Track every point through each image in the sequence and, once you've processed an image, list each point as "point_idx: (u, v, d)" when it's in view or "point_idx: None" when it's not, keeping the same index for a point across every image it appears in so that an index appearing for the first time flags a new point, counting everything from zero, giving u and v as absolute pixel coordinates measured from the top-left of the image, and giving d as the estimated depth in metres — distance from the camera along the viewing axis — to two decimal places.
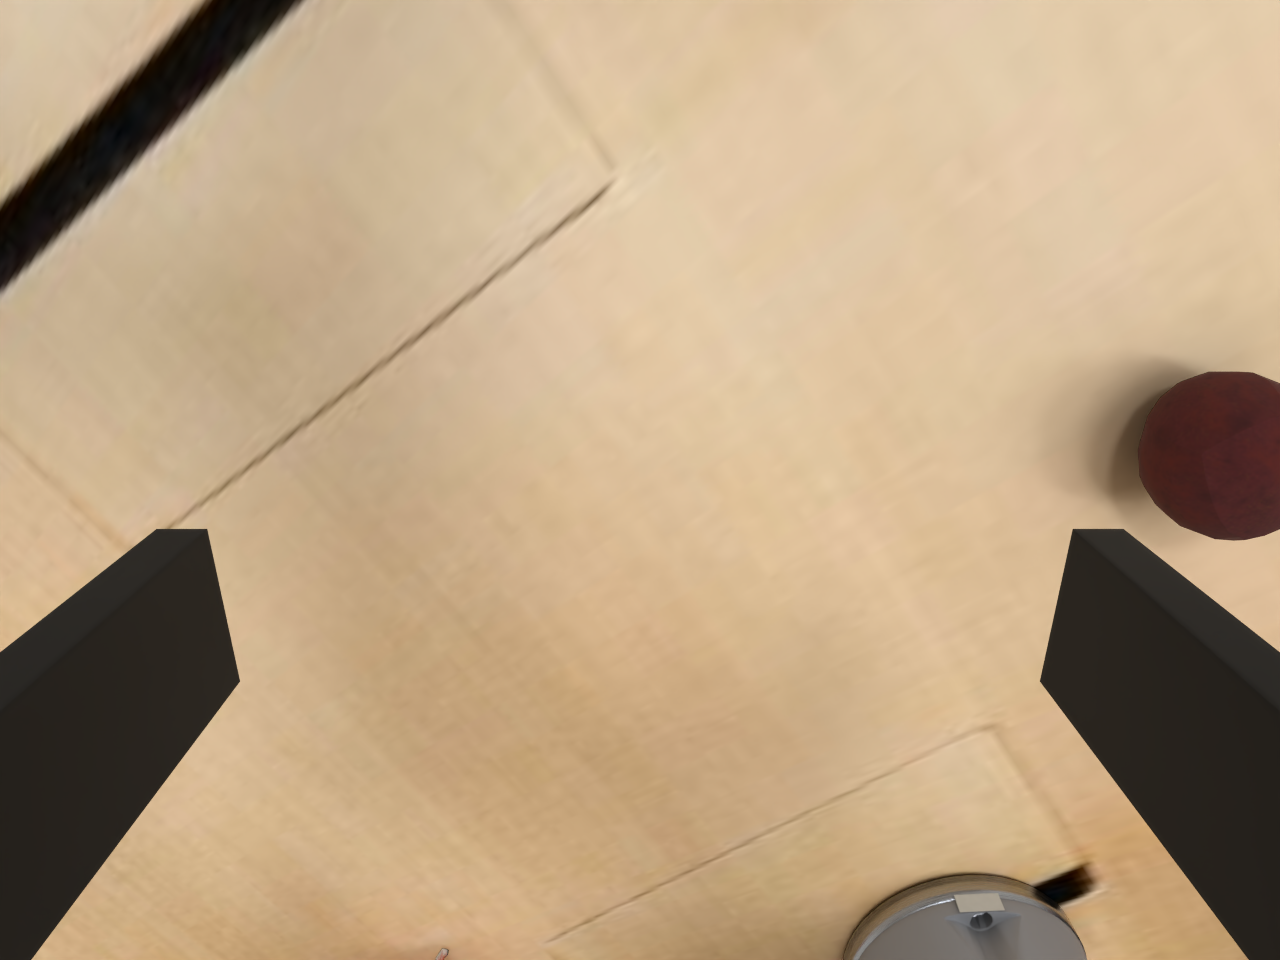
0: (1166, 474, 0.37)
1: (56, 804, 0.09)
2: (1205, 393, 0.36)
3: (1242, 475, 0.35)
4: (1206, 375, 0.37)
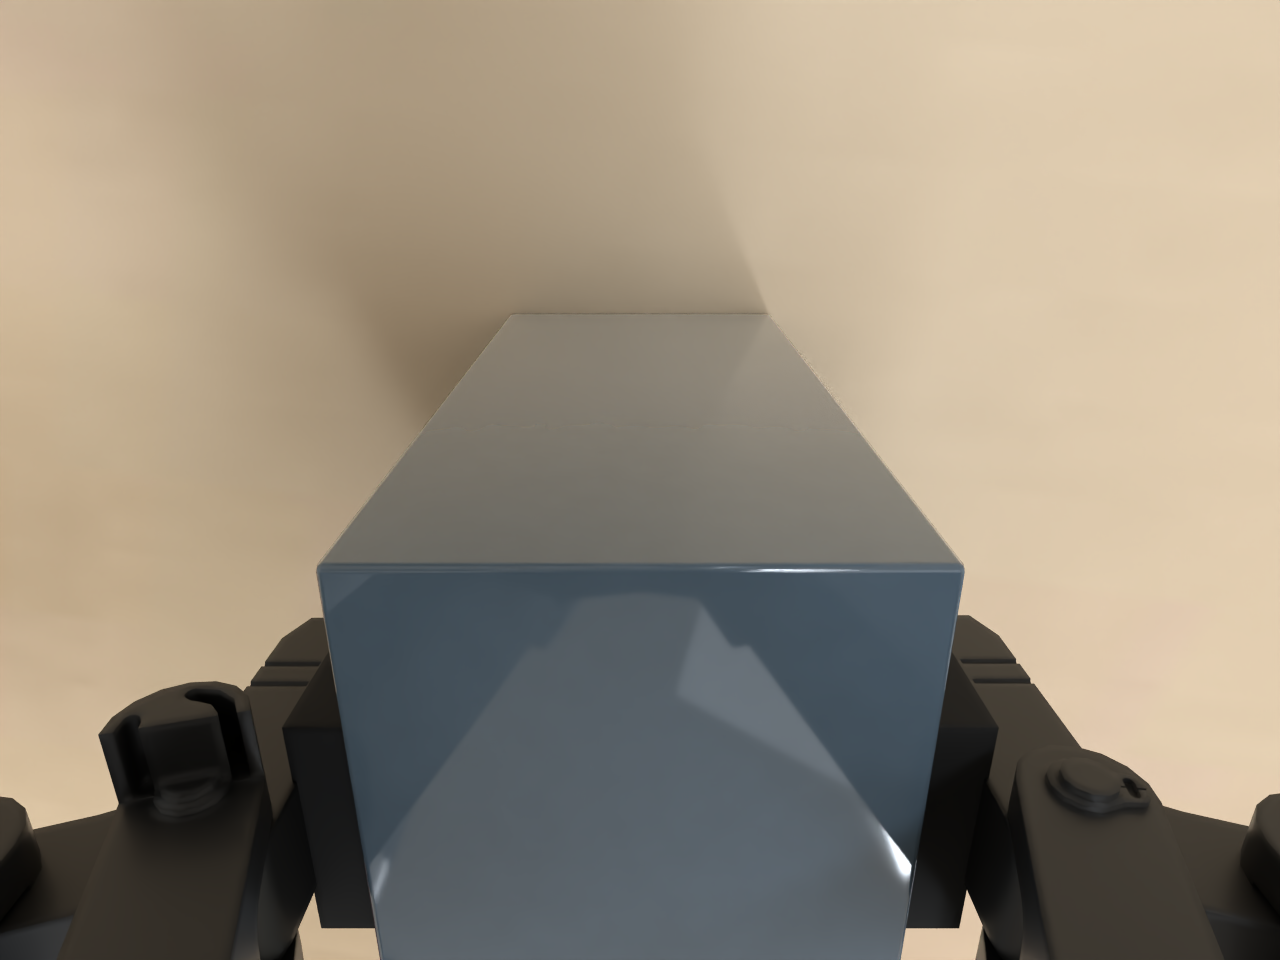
0: None
1: None
2: None
3: None
4: None
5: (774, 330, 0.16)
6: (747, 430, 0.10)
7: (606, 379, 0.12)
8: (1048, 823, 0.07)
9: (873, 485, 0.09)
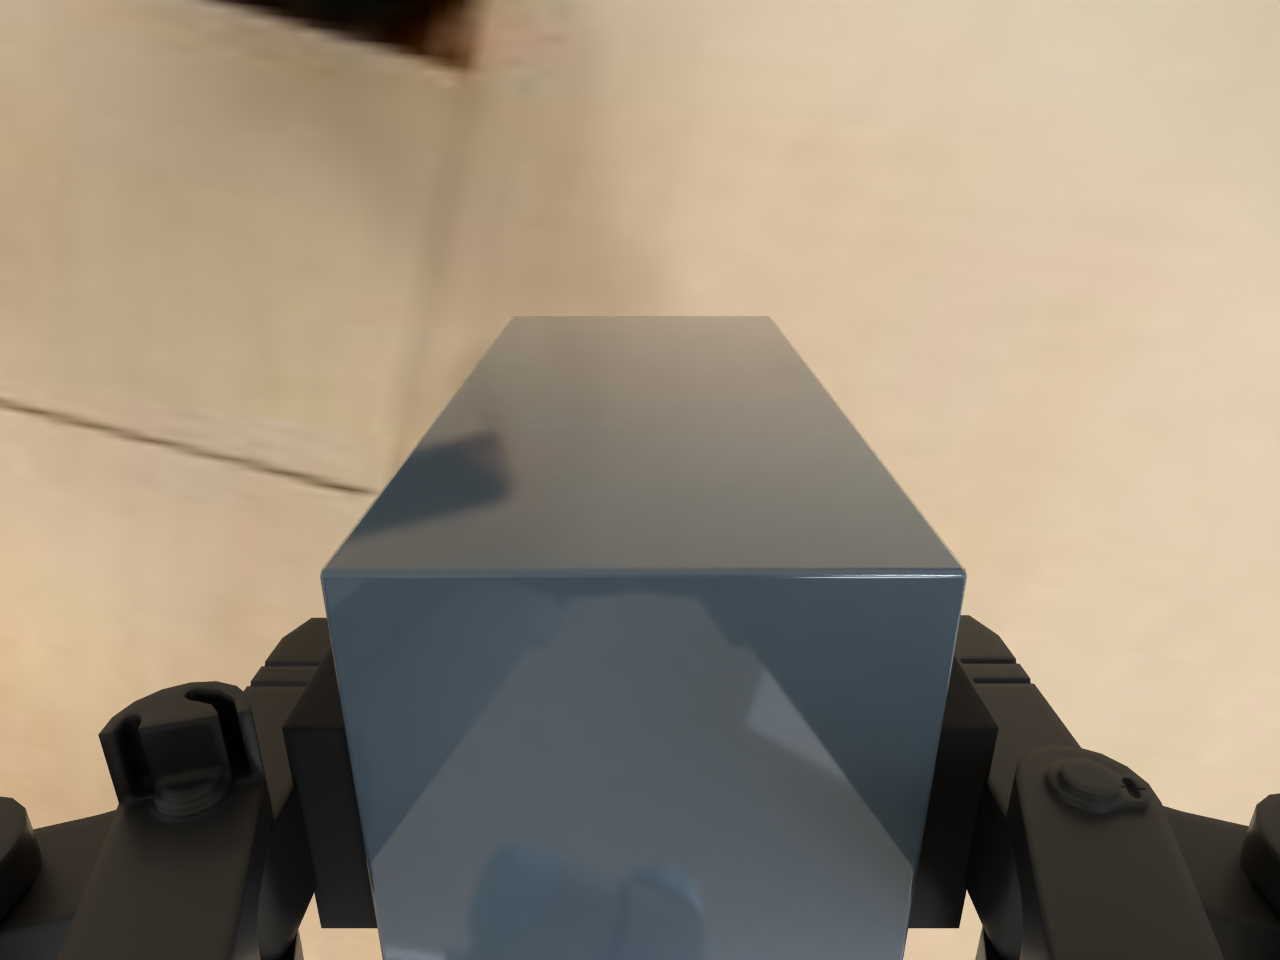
0: None
1: None
2: None
3: None
4: None
5: (775, 333, 0.16)
6: (748, 434, 0.10)
7: (608, 382, 0.12)
8: (1048, 822, 0.07)
9: (875, 489, 0.09)
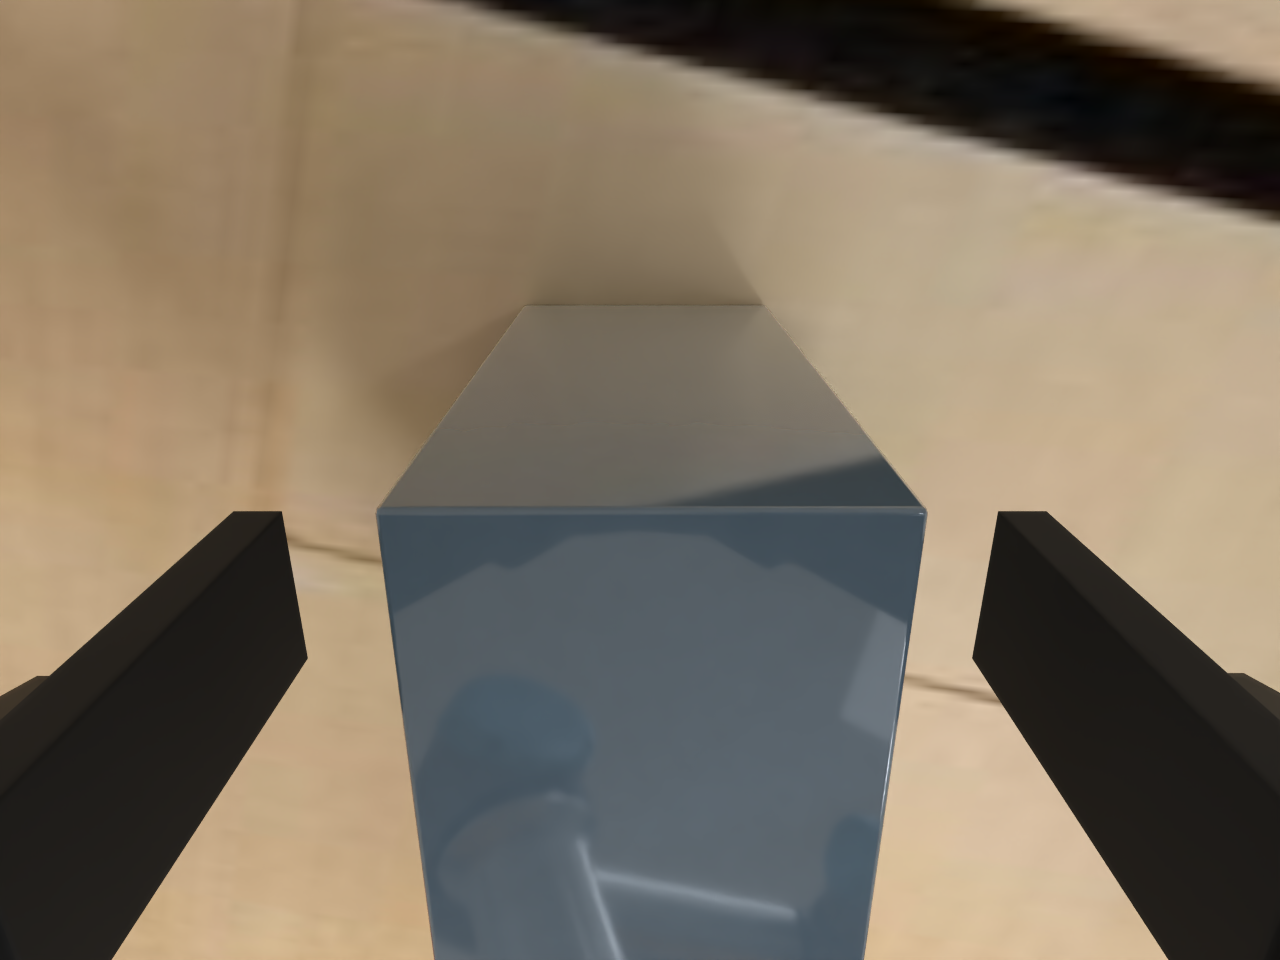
0: None
1: (164, 764, 0.10)
2: None
3: None
4: None
5: (770, 319, 0.17)
6: (743, 404, 0.11)
7: (617, 362, 0.14)
8: None
9: (853, 448, 0.10)
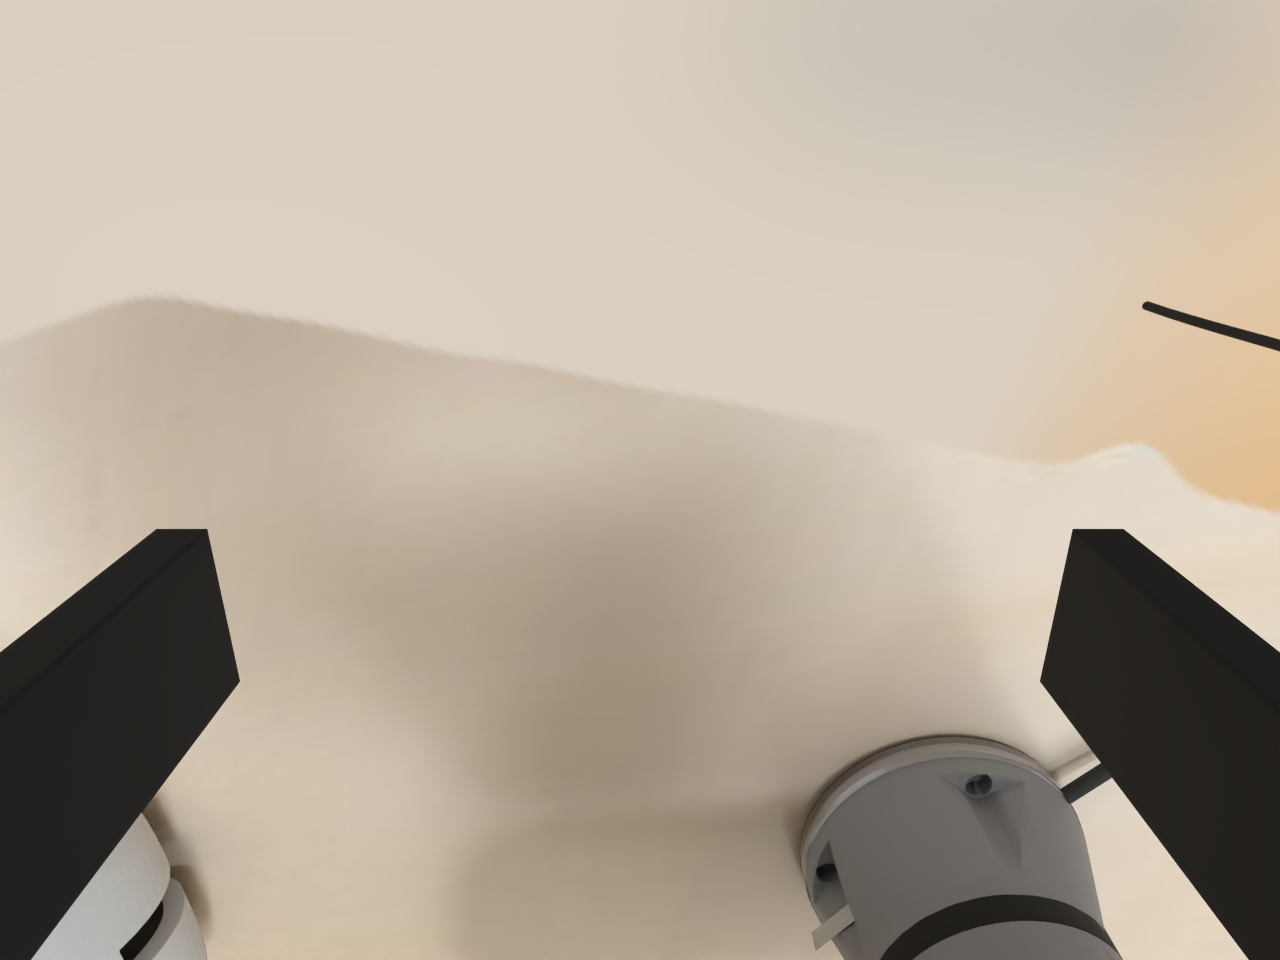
0: None
1: (55, 805, 0.09)
2: None
3: None
4: None
5: None
6: None
7: None
8: None
9: None
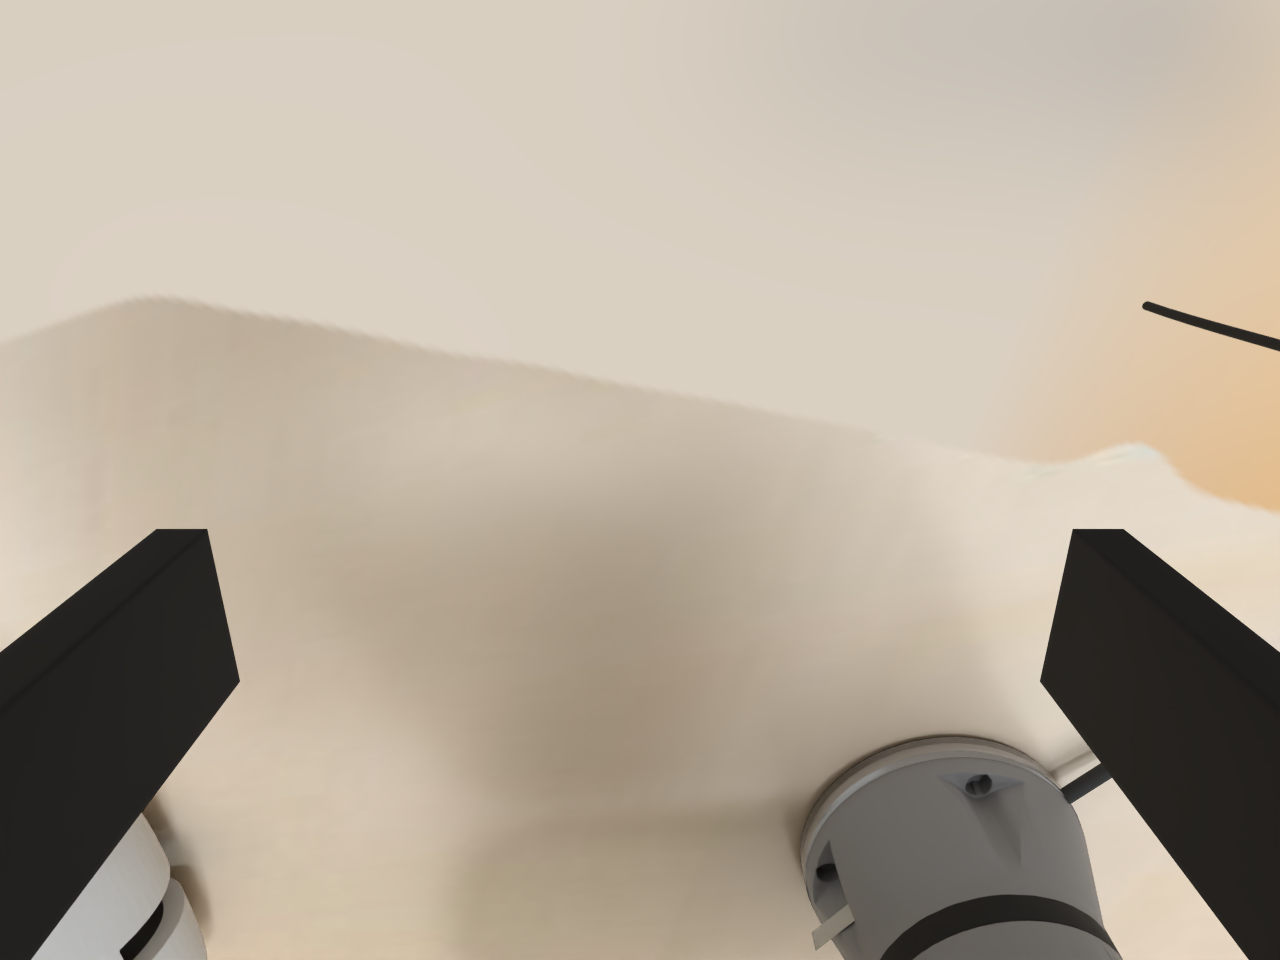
0: None
1: (55, 805, 0.09)
2: None
3: None
4: None
5: None
6: None
7: None
8: None
9: None
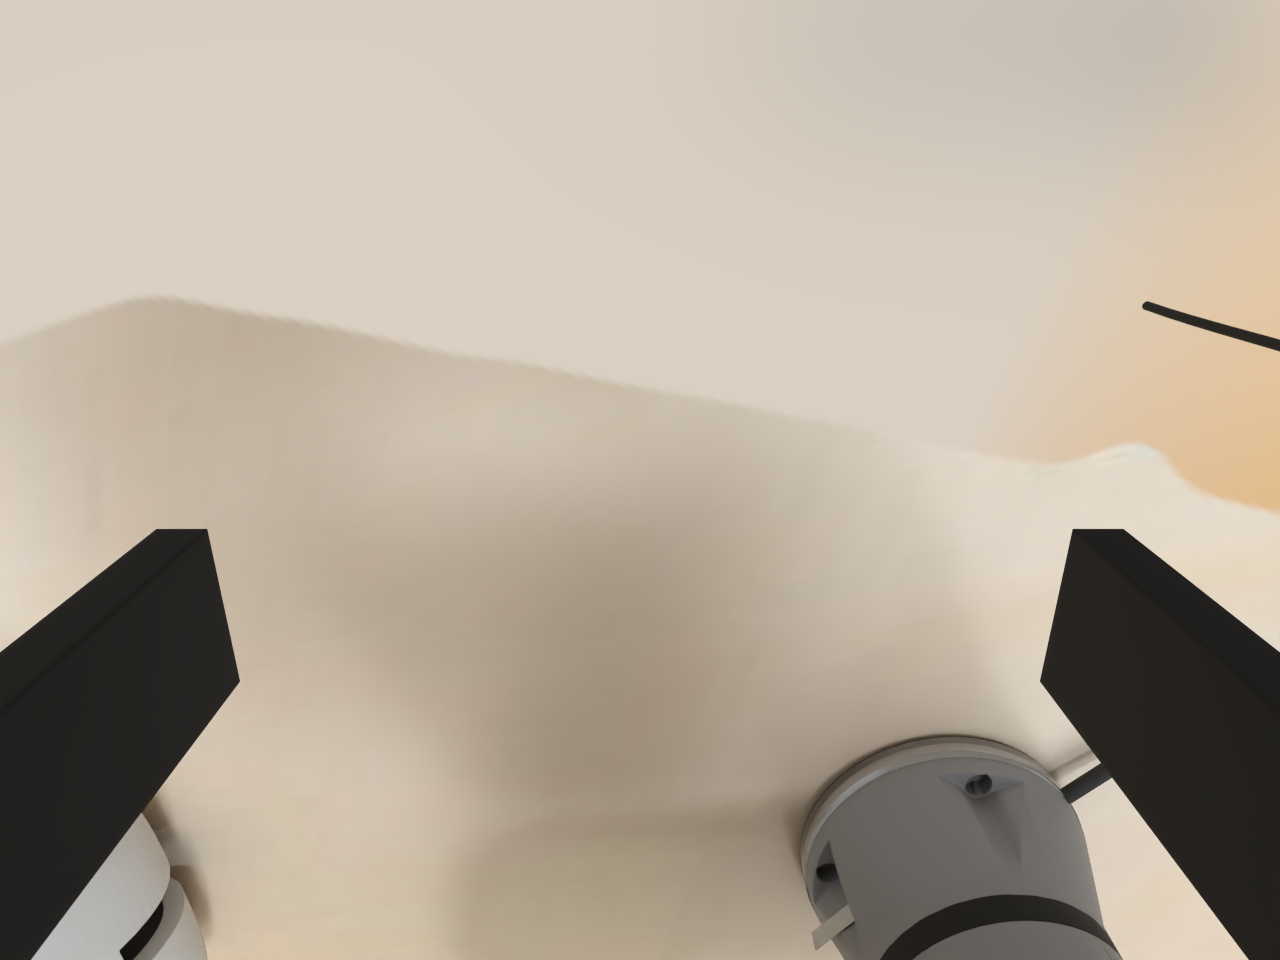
0: None
1: (55, 805, 0.09)
2: None
3: None
4: None
5: None
6: None
7: None
8: None
9: None
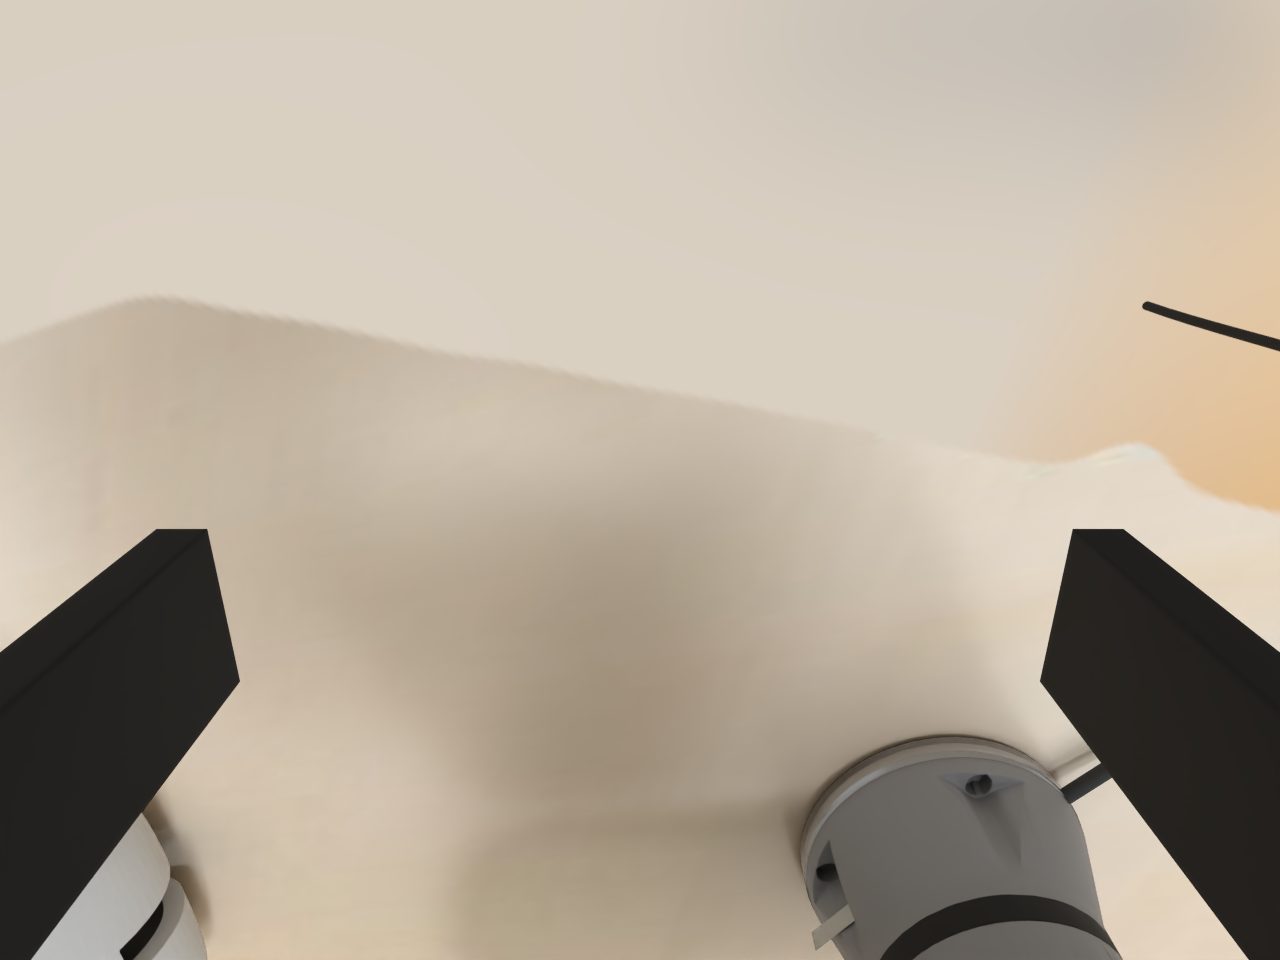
0: None
1: (55, 805, 0.09)
2: None
3: None
4: None
5: None
6: None
7: None
8: None
9: None
